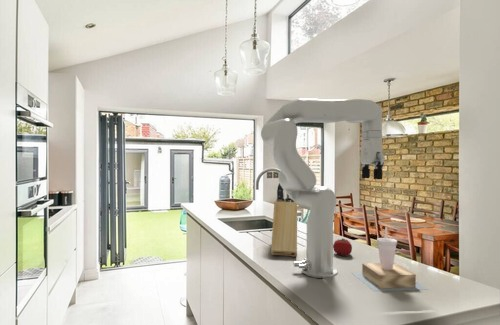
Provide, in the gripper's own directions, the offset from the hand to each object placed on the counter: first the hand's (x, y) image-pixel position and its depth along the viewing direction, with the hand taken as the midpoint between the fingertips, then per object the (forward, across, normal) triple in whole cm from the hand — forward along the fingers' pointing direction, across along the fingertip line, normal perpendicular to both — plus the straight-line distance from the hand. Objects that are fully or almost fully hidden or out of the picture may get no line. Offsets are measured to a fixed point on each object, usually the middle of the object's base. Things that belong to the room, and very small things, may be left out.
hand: (371, 178), depth 124 cm
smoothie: (+30, +19, -4) cm, 36 cm away
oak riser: (+34, +19, -4) cm, 39 cm away
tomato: (+35, -14, -6) cm, 38 cm away
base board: (+34, +19, -4) cm, 39 cm away
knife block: (+34, -27, -29) cm, 53 cm away
